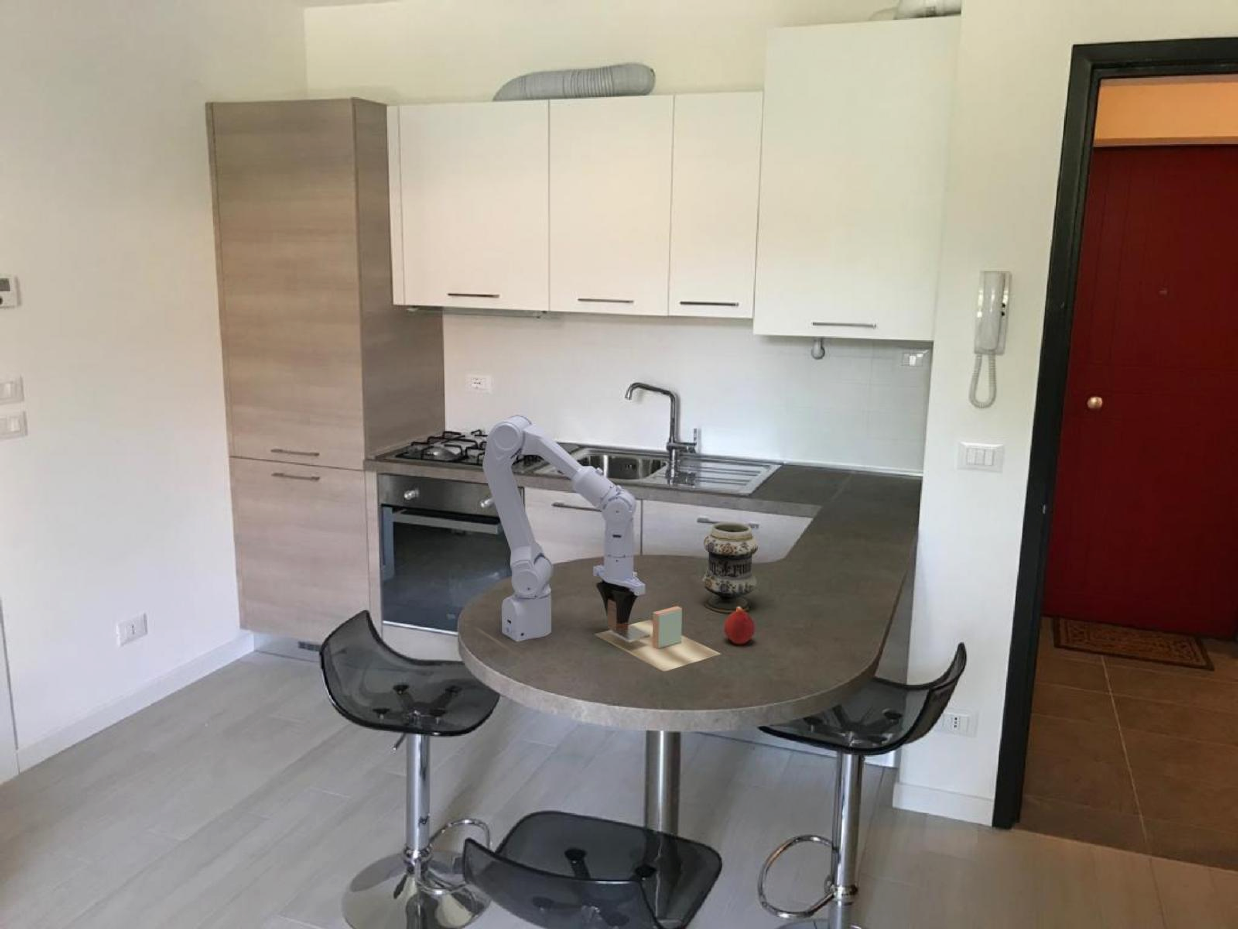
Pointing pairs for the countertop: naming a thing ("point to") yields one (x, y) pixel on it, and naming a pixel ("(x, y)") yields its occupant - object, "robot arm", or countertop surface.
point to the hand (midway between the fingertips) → (617, 619)
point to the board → (660, 657)
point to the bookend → (622, 625)
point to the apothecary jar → (729, 566)
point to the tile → (667, 627)
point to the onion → (739, 626)
